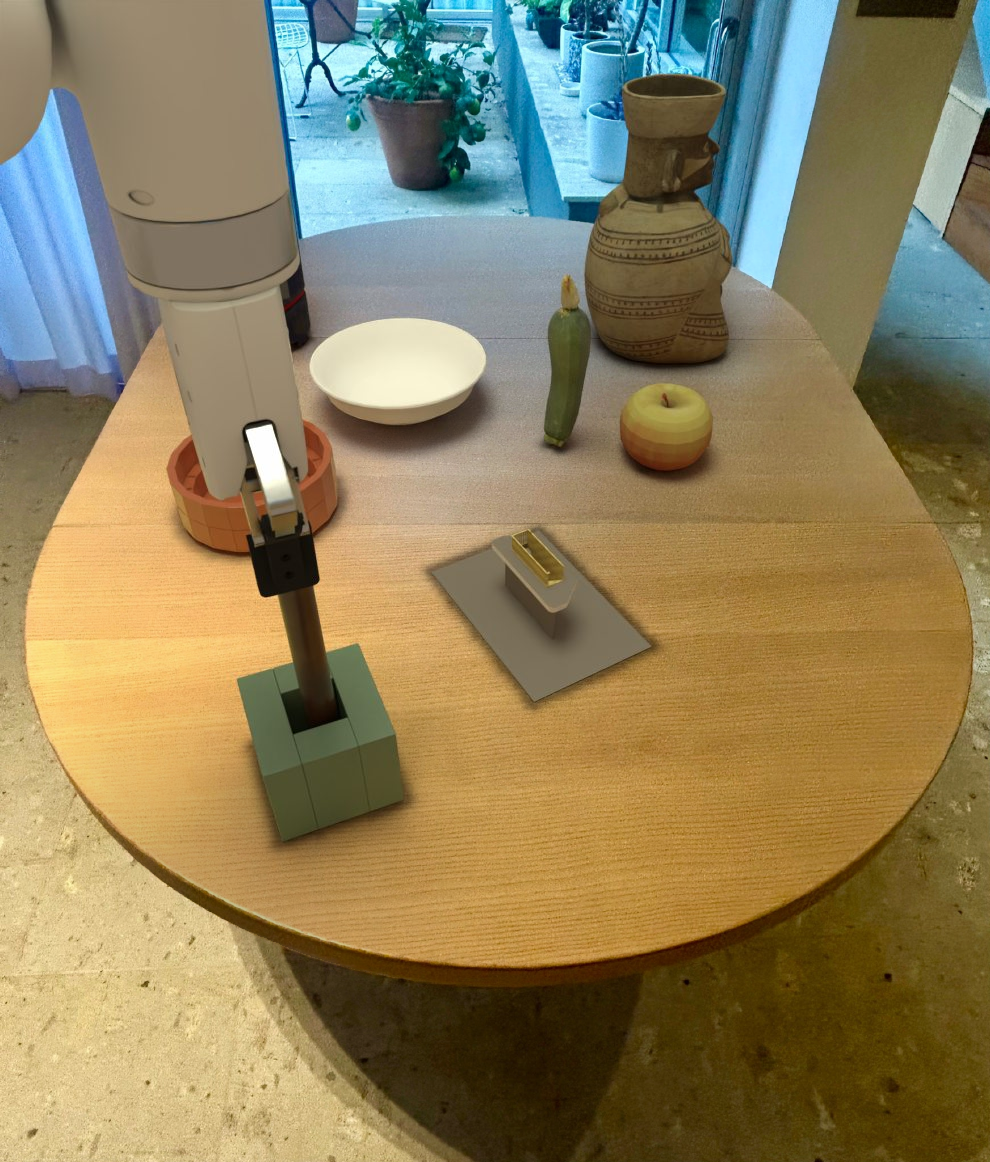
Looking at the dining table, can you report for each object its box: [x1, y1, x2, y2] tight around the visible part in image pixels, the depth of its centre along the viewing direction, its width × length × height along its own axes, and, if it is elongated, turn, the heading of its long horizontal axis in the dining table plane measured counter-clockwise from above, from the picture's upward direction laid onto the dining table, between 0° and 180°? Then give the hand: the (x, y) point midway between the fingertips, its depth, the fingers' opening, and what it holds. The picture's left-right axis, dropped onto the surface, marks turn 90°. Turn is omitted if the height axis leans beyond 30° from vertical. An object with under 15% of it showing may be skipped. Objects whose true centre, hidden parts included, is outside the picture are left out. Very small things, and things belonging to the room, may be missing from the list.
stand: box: [236, 642, 404, 842], centre depth 64 cm, size 9×9×8 cm
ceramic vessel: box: [583, 73, 733, 364], centre depth 106 cm, size 19×21×30 cm
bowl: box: [308, 317, 488, 426], centre depth 101 cm, size 20×20×6 cm
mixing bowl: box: [165, 419, 339, 553], centre depth 88 cm, size 16×16×6 cm
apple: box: [619, 382, 714, 471], centre depth 94 cm, size 10×10×8 cm
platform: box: [430, 528, 652, 703], centre depth 77 cm, size 12×18×7 cm, turn 31°
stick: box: [277, 586, 339, 729], centre depth 60 cm, size 2×2×20 cm
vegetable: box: [543, 274, 592, 448], centre depth 91 cm, size 4×4×20 cm
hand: (270, 533), depth 50 cm, fingers open, 9 cm apart
